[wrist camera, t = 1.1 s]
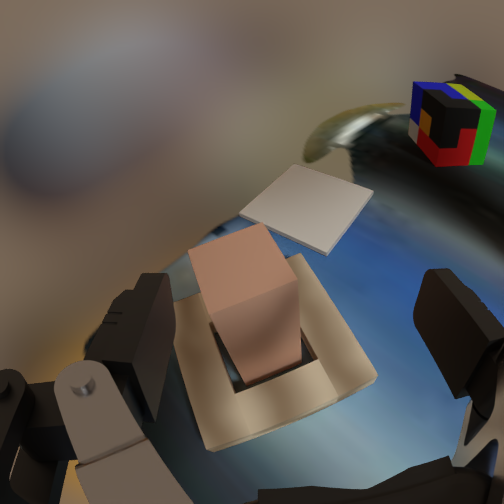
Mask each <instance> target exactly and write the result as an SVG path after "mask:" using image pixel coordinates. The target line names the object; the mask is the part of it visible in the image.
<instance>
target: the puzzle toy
mask: <svg viewBox="0 0 504 504" xmlns="http://www.w3.org/2000/svg"><path fill="white" fill-rule="evenodd" d="M495 115H496V110H495V109H494V108H492V107H491V106H490V105H489V104H487V103H486V102H485V101H483V100H482V99H481V98H479V97H478V96H476V95H475V94H474V93H472V92H471V91H469V90H468V89H467V88H465V87H464V86H462V85H459V84H448V83H434V82H413V89H412V101H411V112H410V121H409V130H408V135H409V136H410V137H411V138H412V140H413V141H414V142H415V143H416V144H417V145H418V146H419V148H420V149H421V150H422V151H423V152H424V153H425V155H426V156H427V157H428V158H429V159H430V161H431V162H432V163H433V164H434V166H435V167H443V166H461V165H483V163H484V159H485V156H486V152H487V149H488V145H489V141H490V137H491V133H492V129H493V124H494V120H495Z"/></svg>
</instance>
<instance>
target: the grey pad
mask: <svg viewBox="0 0 504 504" xmlns="http://www.w3.org/2000/svg"><path fill="white" fill-rule="evenodd" d="M372 195H373V191H372V190H369V189H367V188H364V187H361V186H359V185H356V184H353V183H351V182H348V181H345V180H342V179H339V178H336V177H334V176H331V175H328V174H325V173H322V172H319V171H316V170H313V169H310V168H307V167H303V166H301V165H298V164H293V165H292V166H291V167H290V168H289V169H287V170H286V171H285V172H284V173H283V174H282V175H281V176H280V177H278V178H277V179H276V180H275V181H274V182H273V183H272V184H271V185H269V186H268V187H267V188H266V189H265V190H264V191H263V192H261V193H260V194H259V195H258V196H257V197H256V198H255V199H254V200H252V201H251V202H250V203H249V204H248V205H247V206H246V207H245V208H244V209H242V210H241V211H240V212H239V216H240V217H242V218H244V219H247V220H249V221H251V222H253V223H255V224H258V223H261V222H263V224H264V225H265V227H266V228H267V229H269V230H271V231H273V232H275V233H277V234H279V235H282V236H284V237H286V238H288V239H290V240H292V241H295V242H297V243H299V244H301V245H303V246H305V247H307V248H310V249H312V250H314V251H316V252H318V253H320V254H322V255H324V256H327V255H328V254H329V253H330V251H331V250H332V249H333V248H334V246H335V245H336V244H337V242H338V241H339V240H340V238H341V237H342V236H343V234H344V233H345V232H346V230H347V229H348V228H349V226H350V225H351V224H352V222H353V221H354V220H355V218H356V217H357V216H358V214H359V213H360V212H361V210H362V209H363V208H364V206H365V205H366V203H367V202H368V201H369V199H370V198H371V197H372Z"/></svg>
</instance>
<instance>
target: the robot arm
mask: <svg viewBox="0 0 504 504" xmlns="http://www.w3.org/2000/svg"><path fill="white" fill-rule="evenodd" d="M413 320H414V324H415V327H416V329H417V330H418V332H419V334H420V335H421V337H422V339H423V341H424V342H425V344H426V346H427V348H428V349H429V351H430V353H431V355H432V356H433V358H434V360H435V362H436V364H437V366H438V367H439V369H440V371H441V373H442V375H443V377H444V379H445V380H446V382H447V384H448V386H449V388H450V390H451V392H452V394H453V396H454V398H455V399H458V398H462V397H465V396H470V397H471V400H470V401H469V403H468V404H467V407H466V411H465V416H464V421H463V425H462V429H461V433H460V437H459V441H458V445H457V449H456V452H455V454H454V457H453V459H452V460H450V458H449V456H446V457H443V458H440V459H437V460H434V461H431V462H427V463H424V464H421V465H417V466H414V467H410V468H408V469H406V470H405V471H403V472H401V473H399V474H397V475H395V476H393V477H391V478H389V479H387V480H385V481H383V482H381V483H379V484H377V485H375V486H373V487H371V488H368V489H361V490H360V489H341V488H328V487H317V486H306V487H294V488H280V489H258V500H255V501H251V502H246V503H243V504H504V327H503V326H502V325H501V324H500V322H499V321H498V320H497V319H496V317H495V316H494V315H493V314H492V313H491V311H490V310H488V308H487V307H486V305H485V304H484V303H483V302H481V300H480V298H479V297H478V296H477V295H476V294H475V293H474V292H473V290H471V289H470V288H468V287H467V286H465V285H464V284H463V283H462V282H461V281H460V280H459V279H458V277H457V276H456V275H455V274H454V273H453V272H452V271H451V270H450V269H447V268H445V269H429V270H427V271H426V272H425V274H424V277H423V281H422V284H421V287H420V291H419V294H418V297H417V300H416V303H415V307H414V311H413ZM175 333H176V316H175V310H174V304H173V298H172V292H171V286H170V280H169V276H168V274H167V273H142V274H141V276H140V278H139V280H138V282H137V284H136V286H135V288H134V290H125V291H123V292H122V293H121V294H120V295H119V296H118V297H116V298H115V299H114V300H113V302H112V304H111V306H110V308H109V310H108V314H106V315H105V317H104V319H103V321H102V324H101V325H100V327H99V329H98V331H97V333H96V335H95V337H94V339H93V341H92V343H91V345H90V347H89V349H88V351H87V353H86V356H85V358H84V360H83V361H78V362H75V363H73V364H71V365H69V366H67V367H66V368H64V369H63V370H62V371H61V372H60V374H59V375H58V376H57V378H56V380H55V381H52V382H44V383H34V384H27V382H26V381H25V379H24V377H23V376H22V375H21V373H19V372H18V371H16V370H13V369H5V370H1V371H0V504H59V502H60V497H61V492H62V488H63V483H64V479H65V475H66V470H67V466H68V462H69V460H78V462H79V464H77V465H76V466H75V470H76V473H77V477H78V479H79V482H80V484H81V486H82V488H83V490H84V493H85V495H86V497H87V499H88V501H89V503H90V504H194V503H193V502H192V501H191V500H190V498H189V497H188V496H187V494H186V493H185V492H184V490H183V489H182V488H181V486H180V485H179V484H178V482H177V481H176V479H175V478H174V477H173V475H172V474H171V472H170V471H169V470H168V468H167V467H166V465H165V464H164V462H163V461H162V459H161V458H160V456H159V455H158V453H157V452H156V450H155V449H154V447H153V446H152V444H151V443H150V441H149V440H148V438H147V437H146V436H145V435H144V434H143V432H142V431H141V426H142V422H153V423H156V418H157V413H158V408H159V404H160V399H161V394H162V390H163V385H164V381H165V376H166V372H167V368H168V363H169V359H170V355H171V350H172V346H173V342H174V338H175ZM19 446H20V450H19V453H18V456H17V459H16V462H15V465H14V468H13V471H12V475H11V478H10V481H9V476H10V472H11V468H12V465H13V462H14V459H15V456H16V453H17V450H18V447H19Z"/></svg>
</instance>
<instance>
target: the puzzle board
mask: <svg viewBox="0 0 504 504" xmlns="http://www.w3.org/2000/svg"><path fill="white" fill-rule="evenodd" d="M286 261H287V262H288V264H289V266H290V267H291V269H292V271H293V272H294V274H295V275H296V277H297V279H298V292H299V311H300V332H301V338H302V340H303V342H304V343H305V345H306V347H307V349H308V351H309V353H310V355H311V357H312V358H313V360H314V361H313V362H311V363H308V364H306V365H304V366H302V367H300V368H297V369H295V370H293V371H291V372H288V373H286V374H284V375H281V376H279V377H276V378H274V379H272V380H269V381H267V382H264V383H262V384H259V385H257V386H254V387H252V388H249V389H247V390H244V391H242V392H239V393H236V391H235V388H234V386H233V383H232V381H231V378H230V376H229V373H228V370H227V368H226V365H225V362H224V360H223V357H222V354H221V352H220V349H219V346H218V343H217V341H216V338H215V335H214V333H216V332H217V330H216V328H215V326H214V324H213V322H212V320H211V318H210V316H209V313H208V311H207V308H206V305H205V302H204V299H203V296H202V293H201V292H200V293H197V294H195V295H192V296H189V297H187V298H184V299H181V300H179V301H176V302H174V303H173V304H174V310H175V316H176V333H175V338H174V342H173V344H174V348H175V351H176V355H177V359H178V362H179V366H180V369H181V373H182V376H183V379H184V383H185V386H186V389H187V393H188V396H189V399H190V402H191V406H192V409H193V412H194V415H195V418H196V421H197V424H198V427H199V430H200V433H201V436H202V439H203V442H204V444H205V447H206V449H207V450H209V451H211V452H216V451H219V450H222V449H225V448H228V447H231V446H234V445H237V444H240V443H242V442H245V441H248V440H251V439H253V438H256V437H259V436H261V435H264V434H267V433H269V432H272V431H274V430H277V429H279V428H281V427H284V426H286V425H289V424H291V423H293V422H296V421H298V420H300V419H303V418H305V417H307V416H309V415H311V414H314V413H316V412H318V411H320V410H322V409H324V408H326V407H328V406H331V405H333V404H335V403H337V402H339V401H341V400H343V399H345V398H347V397H348V396H350V395H352V394H354V393H356V392H358V391H360V390H362V389H364V388H365V387H367V386H369V385H371V384H373V383H374V381H375V380H376V378H377V376H378V374H377V372H376V371H375V369H374V367H373V366H372V364H371V362H370V361H369V359H368V357H367V356H366V354H365V353H364V351H363V349H362V348H361V346H360V344H359V343H358V341H357V340H356V338H355V336H354V335H353V333H352V332H351V330H350V328H349V327H348V325H347V324H346V322H345V321H344V319H343V317H342V316H341V314H340V313H339V311H338V310H337V308H336V306H335V305H334V303H333V302H332V300H331V299H330V297H329V296H328V294H327V292H326V291H325V289H324V288H323V286H322V285H321V283H320V282H319V280H318V279H317V277H316V276H315V274H314V272H313V271H312V269H311V268H310V266H309V265H308V263H307V262H306V260H305V259H304V257H303V256H302V254H301V253H299V254H297V255H294V256H292V257H289V258H287V259H286Z"/></svg>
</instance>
